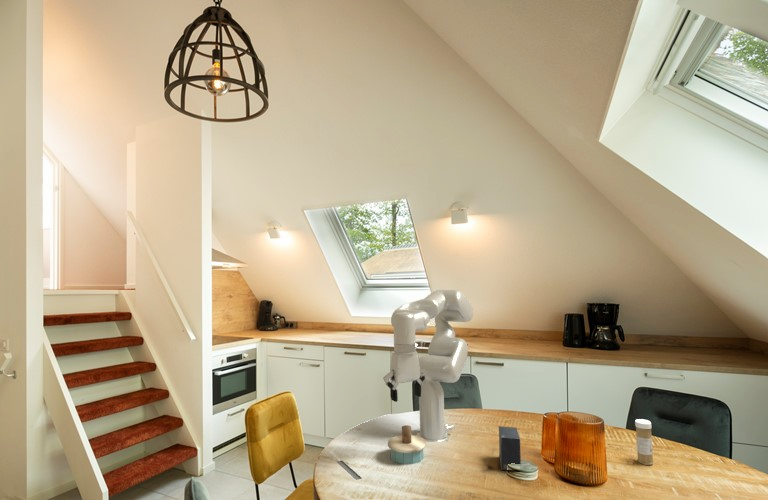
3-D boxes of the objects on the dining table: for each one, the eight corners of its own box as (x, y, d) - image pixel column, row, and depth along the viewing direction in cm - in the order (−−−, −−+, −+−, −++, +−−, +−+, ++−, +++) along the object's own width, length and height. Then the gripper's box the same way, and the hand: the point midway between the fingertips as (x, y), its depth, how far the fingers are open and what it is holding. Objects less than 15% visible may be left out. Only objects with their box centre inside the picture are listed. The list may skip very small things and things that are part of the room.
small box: (522, 472, 133) (521, 438, 134) (501, 470, 134) (499, 437, 135) (518, 458, 143) (517, 426, 144) (498, 456, 145) (497, 425, 145)
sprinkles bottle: (642, 458, 141) (640, 417, 142) (656, 464, 137) (654, 421, 138) (634, 461, 139) (631, 420, 140) (648, 466, 135) (645, 424, 136)
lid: (411, 435, 153) (411, 418, 153) (433, 447, 141) (433, 428, 142) (381, 442, 146) (380, 425, 146) (401, 456, 135) (400, 436, 135)
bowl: (411, 450, 151) (411, 436, 151) (429, 462, 141) (429, 446, 142) (385, 457, 145) (384, 443, 146) (402, 470, 136) (401, 454, 136)
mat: (375, 453, 149) (375, 451, 149) (397, 469, 136) (397, 467, 136) (336, 463, 142) (336, 461, 142) (356, 481, 129) (356, 479, 129)
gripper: (419, 344, 154) (420, 391, 153) (377, 349, 145) (379, 399, 144) (431, 347, 147) (432, 396, 146) (389, 352, 138) (390, 405, 137)
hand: (406, 398), depth 145 cm, fingers open, 9 cm apart
